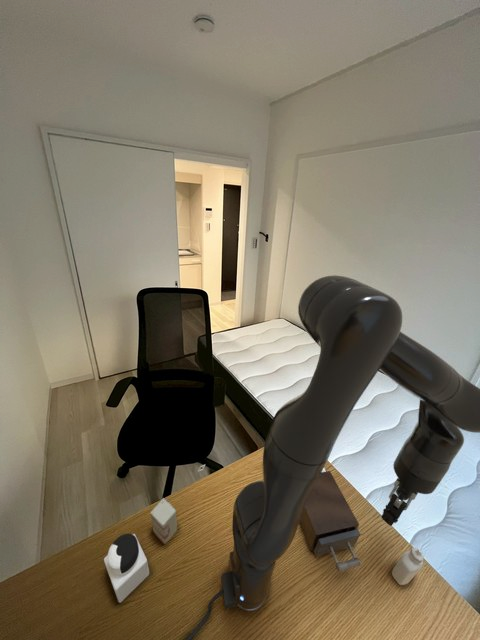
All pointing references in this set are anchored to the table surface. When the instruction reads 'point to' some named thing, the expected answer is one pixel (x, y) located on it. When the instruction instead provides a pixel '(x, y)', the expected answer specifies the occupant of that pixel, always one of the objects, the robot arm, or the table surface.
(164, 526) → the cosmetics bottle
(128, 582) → the white block with dome
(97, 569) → the table surface
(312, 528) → the cabinet
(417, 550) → the eye dropper bottle
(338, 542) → the drawer
